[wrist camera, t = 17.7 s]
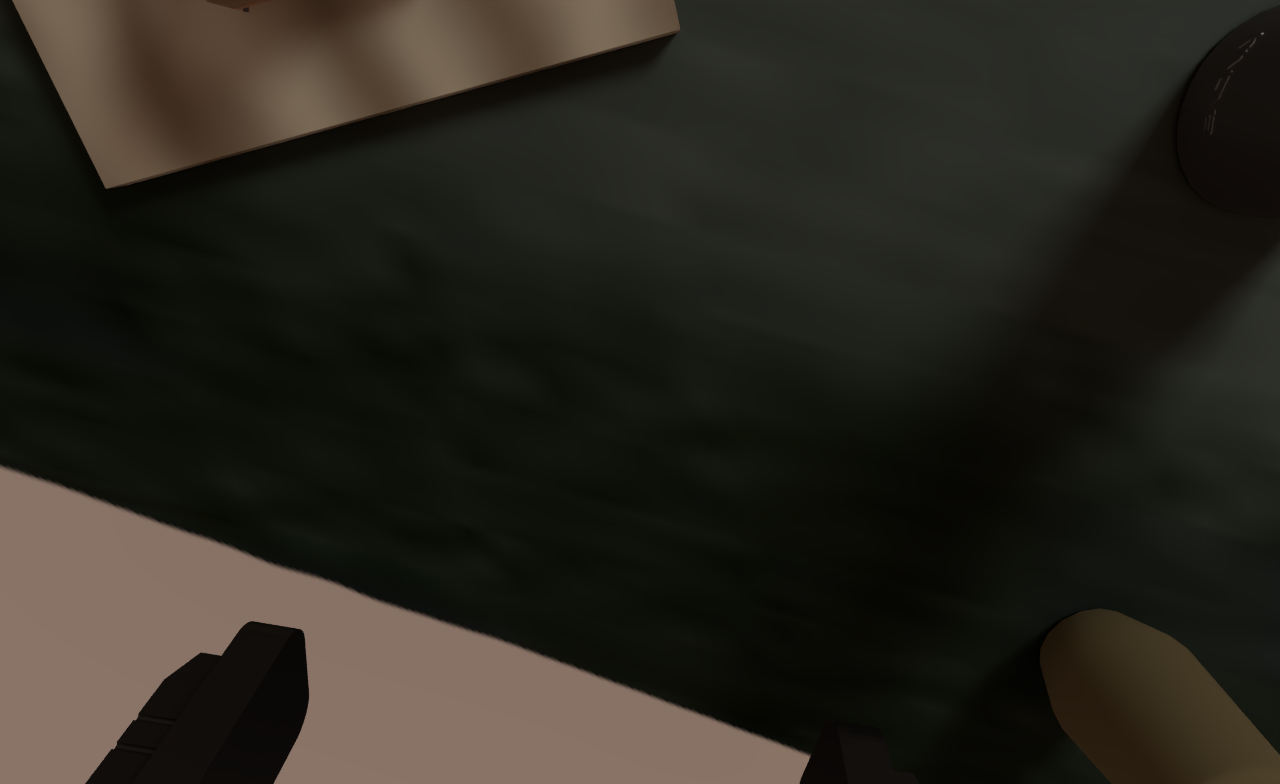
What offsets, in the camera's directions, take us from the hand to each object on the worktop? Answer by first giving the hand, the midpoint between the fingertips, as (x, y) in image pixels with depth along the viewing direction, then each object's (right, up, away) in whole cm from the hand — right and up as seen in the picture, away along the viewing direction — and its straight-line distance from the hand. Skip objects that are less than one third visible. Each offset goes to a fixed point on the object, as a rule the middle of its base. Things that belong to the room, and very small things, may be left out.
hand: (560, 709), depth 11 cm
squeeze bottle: (+28, -11, +34) cm, 46 cm away
